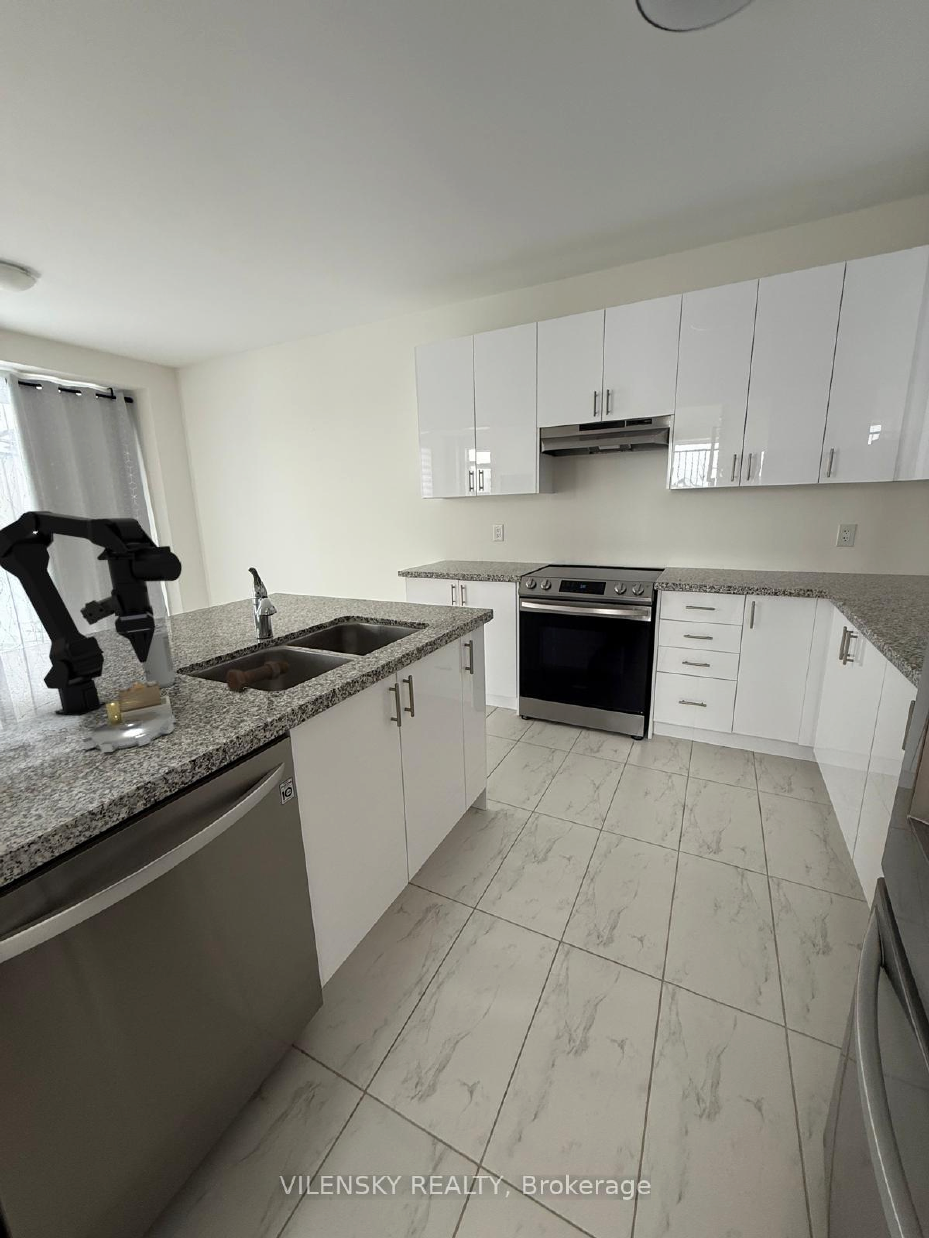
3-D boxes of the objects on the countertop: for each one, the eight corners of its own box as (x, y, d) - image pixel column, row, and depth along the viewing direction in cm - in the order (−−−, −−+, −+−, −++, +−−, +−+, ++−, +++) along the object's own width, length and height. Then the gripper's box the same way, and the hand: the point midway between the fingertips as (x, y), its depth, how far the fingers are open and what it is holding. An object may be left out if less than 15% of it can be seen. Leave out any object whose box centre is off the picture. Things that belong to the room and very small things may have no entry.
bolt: (289, 680, 128) (236, 698, 116) (277, 669, 130) (224, 684, 118) (295, 663, 126) (241, 679, 114) (283, 651, 128) (228, 665, 115)
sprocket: (114, 759, 84) (107, 727, 83) (66, 744, 91) (60, 714, 89) (192, 725, 97) (188, 697, 96) (146, 714, 103) (141, 688, 102)
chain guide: (114, 726, 99) (112, 715, 98) (114, 716, 104) (113, 706, 103) (172, 713, 104) (170, 703, 104) (170, 705, 109) (168, 695, 109)
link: (122, 719, 100) (117, 689, 99) (122, 713, 103) (117, 685, 102) (163, 710, 104) (157, 682, 103) (161, 705, 107) (157, 677, 106)
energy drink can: (149, 684, 124) (138, 625, 121) (176, 679, 127) (167, 622, 124) (146, 691, 119) (135, 630, 116) (175, 686, 121) (165, 626, 118)
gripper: (83, 582, 103) (98, 655, 106) (73, 592, 87) (91, 676, 91) (146, 576, 109) (159, 645, 112) (147, 584, 93) (161, 664, 96)
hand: (143, 657), depth 103 cm, fingers open, 9 cm apart
